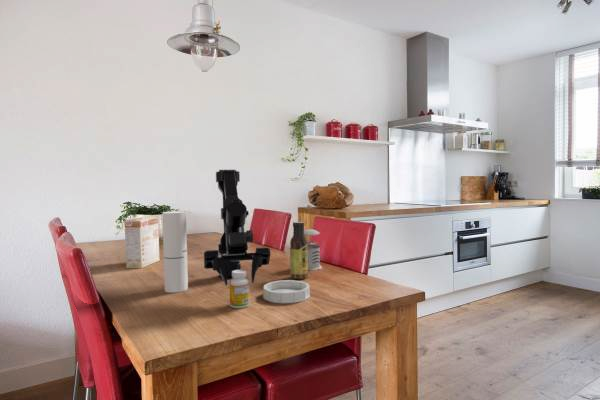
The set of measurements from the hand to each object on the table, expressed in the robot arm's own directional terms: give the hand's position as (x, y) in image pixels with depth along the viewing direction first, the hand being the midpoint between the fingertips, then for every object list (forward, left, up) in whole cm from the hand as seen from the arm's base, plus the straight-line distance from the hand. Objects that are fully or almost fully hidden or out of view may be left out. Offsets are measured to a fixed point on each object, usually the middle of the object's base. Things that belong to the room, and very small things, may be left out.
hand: (239, 283), depth 106 cm
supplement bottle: (-1, +1, -7) cm, 7 cm away
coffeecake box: (-69, +29, -7) cm, 75 cm away
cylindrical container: (-29, +6, -7) cm, 30 cm away
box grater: (-2, +50, -7) cm, 51 cm away
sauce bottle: (+1, +35, -7) cm, 36 cm away
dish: (+7, +14, -7) cm, 17 cm away
